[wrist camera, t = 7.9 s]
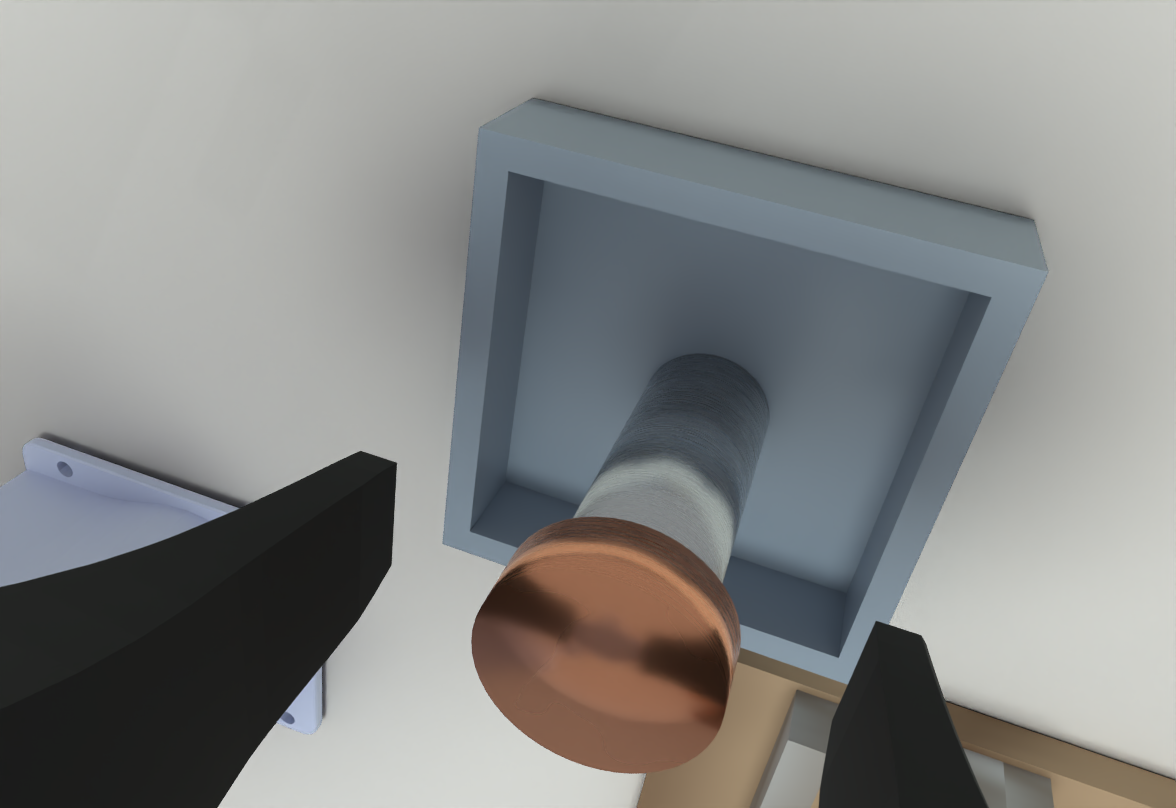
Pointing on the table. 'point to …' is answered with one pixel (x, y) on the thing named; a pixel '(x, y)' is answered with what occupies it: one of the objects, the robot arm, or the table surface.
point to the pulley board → (800, 737)
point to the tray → (730, 351)
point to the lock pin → (634, 584)
